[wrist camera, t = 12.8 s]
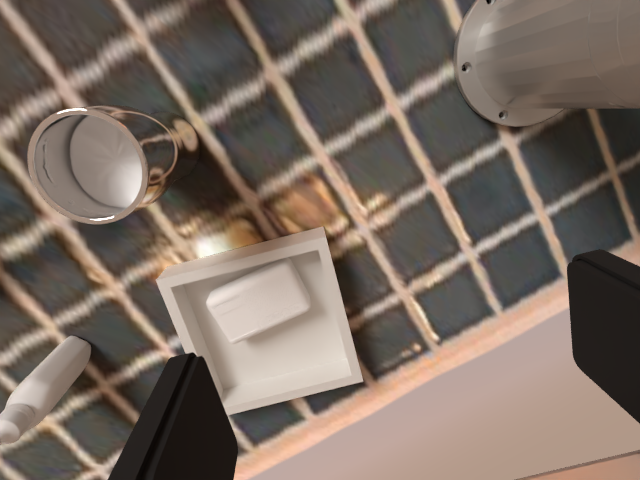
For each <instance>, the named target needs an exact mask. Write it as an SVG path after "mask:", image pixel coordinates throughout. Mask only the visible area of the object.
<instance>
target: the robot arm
mask: <svg viewBox="0 0 640 480" xmlns="http://www.w3.org/2000/svg"><path fill="white" fill-rule="evenodd" d="M453 62H454V73H455V78H456V81H457V85H458V88H459V90H460V92H461V94H462V96H463V98H464V100H465V101H466V102H467V103H468V105H469V106H470V107H471V108H472V110H474V111H475V112H476V113H477V114H479V115H480V116H481V117H482V118H484V119H486V120H488V121H490V122H492V123H496V124H500V125H504V126H514V127H517V126H529V125H533V124H537V123H541V122H543V121H545V120H547V119H549V118H551V117H553V116H555V115H556V114H558V113H559V112H561V111H562V110H564V109H596V108H640V0H489V4H487V2H486V0H475V1H474V3H473V4H472V5H471V7H470V9H469V10H468V12H467V13H466V15H465V16H464V19H463V21H462V23H461V25H460V28H459V30H458V33H457V37H456V41H455V45H454V57H453ZM462 66H465V71H462ZM499 113H501V117H500V118H499ZM567 276H568V291H569V306H570V320H571V335H572V349H573V357H574V360H575V362H576V364H577V366H578V367H579V368H580V369H581V370H582V371H583V372H584V373H585V374H586V375H587V376H588V377H589V378H590V379H592V380H593V381H594V382H595V383H596V384H597V385H598V386H599V387H600V388H601V389H602V390H604V391H605V392H606V393H607V394H608V395H609V396H610V397H611V398H612V399H613V400H615V401H616V402H617V403H618V404H619V405H620V406H621V407H622V408H623V409H624V410H626V411H627V412H628V413H629V414H630V415H631V416H632V417H633V418H634V419H635V420H636V421H638V422H639V423H640V267H639V266H637V265H635V264H633V263H631V262H628V261H626V260H624V259H622V258H620V257H617V256H615V255H613V254H611V253H609V252H606V251H604V250H601V249H599V250H595V251H591V252H587V253H583V254H579V255H575V256H574V257H573V260H572V262H571V263H569V264H568V266H567ZM237 454H238V446H237V440H236V437H235V435H234V432H233V429H232V427H231V424H230V422H229V419H228V417H227V414H226V412H225V409H224V407H223V404H222V401H221V399H220V396H219V394H218V391H217V389H216V386H215V384H214V381H213V378H212V376H211V373H210V371H209V368H208V366H207V363H206V361H205V359H204V357H203V356H199V357H197V355H196V354H195V353H193V352H191V353H187V354H183V355H179V356H175V357H171V358H170V359H169V360H168V362H167V364H166V366H165V368H164V370H163V372H162V374H161V376H160V378H159V380H158V382H157V384H156V386H155V388H154V389H153V391H152V393H151V395H150V397H149V399H148V401H147V403H146V405H145V407H144V409H143V411H142V413H141V415H140V417H139V419H138V421H137V423H136V425H135V427H134V429H133V431H132V433H131V435H130V437H129V439H128V441H127V443H126V445H125V447H124V449H123V451H122V453H121V455H120V457H119V459H118V461H117V463H116V464H115V466H114V468H113V470H112V472H111V474H110V476H109V478H108V480H233V478H234V473H235V467H236V461H237ZM516 480H640V450H638V451H633V452H629V453H625V454H621V455H617V456H612V457H608V458H604V459H600V460H595V461H591V462H587V463H582V464H578V465H574V466H570V467H565V468H561V469H557V470H553V471H549V472H545V473H541V474H536V475H532V476H528V477H524V478H520V479H516Z"/></svg>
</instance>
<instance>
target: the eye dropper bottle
mask: <svg viewBox="0 0 640 480" xmlns="http://www.w3.org/2000/svg"><path fill="white" fill-rule="evenodd" d="M90 354H91V345H90V344H89V343H88V342H86V341H84V340H82V339H80V338H78V337H76V336H70V337H68V338H67V339H65V340H64V341H63V342H61V343H60V344H59V345H58V346H57V347H56V348H55V349H54V350H53V351H52V352H51V353H50V354H49V355H48V356H47V357H46V358H45V359H44V360H43V361H42V362H41V363H40V364H39V365H38V366H37V367H36V368H35V369H34V370H33V371H32V372H31V373H30V374H29V375H28V376H27V377H26V378H25V379H24V380H23V381H22V382H21V383H20V384H19V385H18V386H17V388H16V389H15V390H14V391H13V393H12V394H11V395H10V397H9V399H8V401H7V404H6V407H5V410H4V411H3V412H2V413H1V414H0V445H1V444H2V443H5V444H9V443H13V442H15V441H17V440H18V439H19V438H20V437H21V436H22V435H23V433H24V432H25V431H26V430H28V429H31V428H33V427H34V426H36V425H37V424H39V423H40V422H41V421H42V420H43V419H44V418H45V417H46V416H47V414H48V413H49V412H50V411H51V409H52V408H53V407H54V406H55V405H56V403H57V402H58V401H59V400H60V398H61V397H62V396H63V395H64V394H65V392H66V391H67V390H68V389H69V387H70V386H71V385H72V384H73V382H74V381H75V380H76V379H77V378H78V376H79V375H80V374H81V373H82V371H83V370H84V369H85V367H86V365H87V363H88V361H89V358H90Z"/></svg>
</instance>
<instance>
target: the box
mask: <svg viewBox="0 0 640 480" xmlns="http://www.w3.org/2000/svg"><path fill="white" fill-rule="evenodd" d="M283 258H289V259H290V260H291V261H292V263H293V265H294V267H295V269H296V271H297V272H298V274H299V276H300V278H301V280H302V282H303V284H304V286H305V288H306V290H307V292H308V293H309V296H310V302H311V307H310V310H309V311H307V312H305V313H303V314H301V315H299V316H297V317H294V318H292V319H290V320H288V321H285V322H283V323H281V324H279V325H276V326H274V327H272V328H270V329H268V330H265V331H263V332H261V333H259V334H256V335H254V336H252V337H250V338H247V339H245V340H243V341H241V342H238V343H236V344H231V343H230V342H229V341H228V339H227V337H226V336H225V334H224V332H223V331H222V329H221V328H220V326H219V324H218V323H217V321H216V319H215V318H214V317H213V316H212V314H211V312H210V311H209V309H208V307H207V305H206V301H207V299H208V297H209V295H210V293H211V291H213V290H214V289H216V288H218V287H221V286H223V285H225V284H227V283H229V282H232V281H234V280H236V279H238V278H240V277H242V276H245V275H247V274H249V273H251V272H253V271H255V270H258V269H260V268H262V267H264V266H266V265H269V264H271V263H273V262H275V261H277V260H279V259H283ZM156 282H157V284H158V287H159V289H160V292H161V294H162V297H163V299H164V301H165V304H166V306H167V309H168V311H169V314H170V316H171V319H172V321H173V324H174V326H175V328H176V331H177V333H178V336H179V338H180V341H181V343H182V346H183V348H184V351H185V353H186V354H187V353H191V352H193V353H195V354H196V355H197V357H199V356H203V357H204V359H205V361H206V363H207V366H208V368H209V371H210V373H211V376H212V378H213V381H214V384H215V386H216V389H217V391H218V394H219V396H220V399H221V401H222V404H223V407H224V409H225V412H226V414H227V415H231V414H235V413H239V412H243V411H247V410H251V409H255V408H259V407H263V406H267V405H271V404H275V403H279V402H283V401H287V400H291V399H295V398H299V397H303V396H307V395H311V394H315V393H319V392H323V391H327V390H331V389H335V388H339V387H343V386H347V385H351V384H355V383H359V382H363V378H362V374H361V370H360V366H359V362H358V358H357V355H356V351H355V347H354V343H353V339H352V335H351V331H350V327H349V324H348V320H347V316H346V312H345V308H344V304H343V300H342V296H341V292H340V289H339V285H338V281H337V277H336V273H335V269H334V265H333V261H332V258H331V254H330V250H329V246H328V242H327V238H326V234H325V230H324V227H319V228H315V229H311V230H307V231H303V232H300V233H296V234H292V235H288V236H284V237H280V238H276V239H272V240H268V241H265V242H261V243H257V244H253V245H249V246H245V247H241V248H237V249H233V250H230V251H226V252H222V253H218V254H214V255H210V256H206V257H202V258H199V259H195V260H191V261H187V262H183V263H179V264H175V265H171V266H167V267H166V269H165V270H164V271H163V272H162V274H161V275H160V276H159V277H158V278H157V280H156Z"/></svg>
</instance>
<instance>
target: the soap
mask: <svg viewBox="0 0 640 480" xmlns="http://www.w3.org/2000/svg"><path fill="white" fill-rule="evenodd" d="M206 305H207V307H208V309H209V311H210V312H211V314H212V316H213V317H214V318H215V319H216V321H217V323H218V324H219V326H220V328H221V329H222V331H223V332H224V334H225V336H226V337H227V339H228V341H229V342H230V343H231V344H236V343H238V342H241V341H243V340H245V339H247V338H250V337H252V336H254V335H256V334H259V333H261V332H263V331H265V330H268V329H270V328H272V327H274V326H276V325H279V324H281V323H283V322H285V321H288V320H290V319H292V318H294V317H297V316H299V315H301V314H303V313H305V312H307V311H309V310H310V307H311V302H310V296H309V293H308V292H307V290H306V288H305V286H304V284H303V282H302V280H301V278H300V276H299V274H298V272H297V271H296V269H295V267H294V265H293V263H292V261H291V260H290V259H289V258H283V259H279V260H277V261H275V262H273V263H271V264H269V265H266V266H264V267H262V268H260V269H258V270H255V271H253V272H251V273H249V274H247V275H245V276H242V277H240V278H238V279H236V280H234V281H232V282H229V283H227V284H225V285H223V286H221V287H218V288H216V289H214V290H213V291H211V293H210V295H209V297H208V299H207V301H206Z"/></svg>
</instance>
